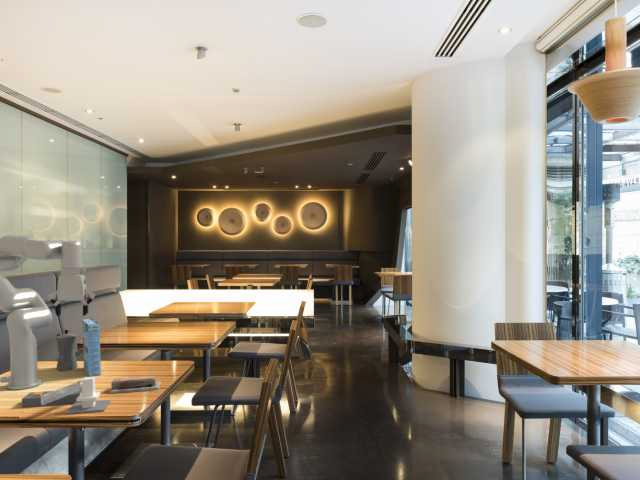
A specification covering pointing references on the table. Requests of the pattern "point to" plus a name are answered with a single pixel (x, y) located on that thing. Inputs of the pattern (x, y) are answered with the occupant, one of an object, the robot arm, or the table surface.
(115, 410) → the table surface
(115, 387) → the packaged product
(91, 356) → the gum box
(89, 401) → the plug
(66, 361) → the coffeepot
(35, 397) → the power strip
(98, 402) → the mat
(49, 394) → the grey long bar
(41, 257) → the robot arm
